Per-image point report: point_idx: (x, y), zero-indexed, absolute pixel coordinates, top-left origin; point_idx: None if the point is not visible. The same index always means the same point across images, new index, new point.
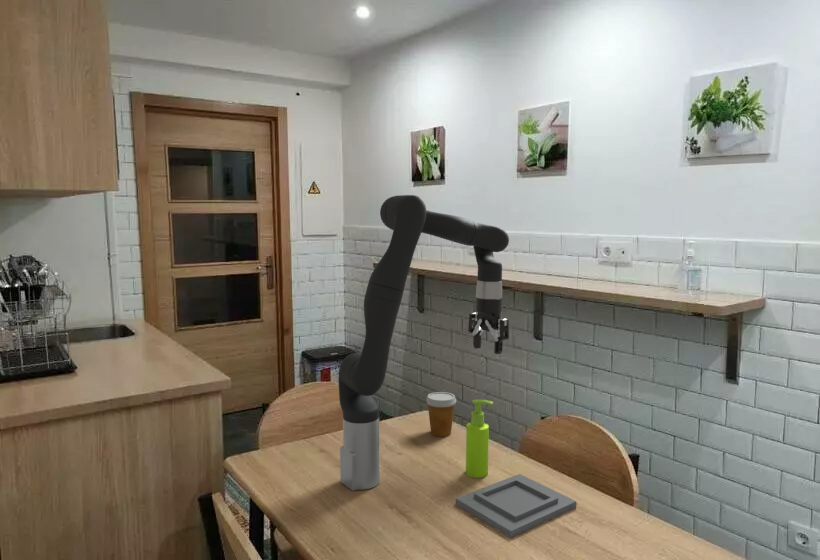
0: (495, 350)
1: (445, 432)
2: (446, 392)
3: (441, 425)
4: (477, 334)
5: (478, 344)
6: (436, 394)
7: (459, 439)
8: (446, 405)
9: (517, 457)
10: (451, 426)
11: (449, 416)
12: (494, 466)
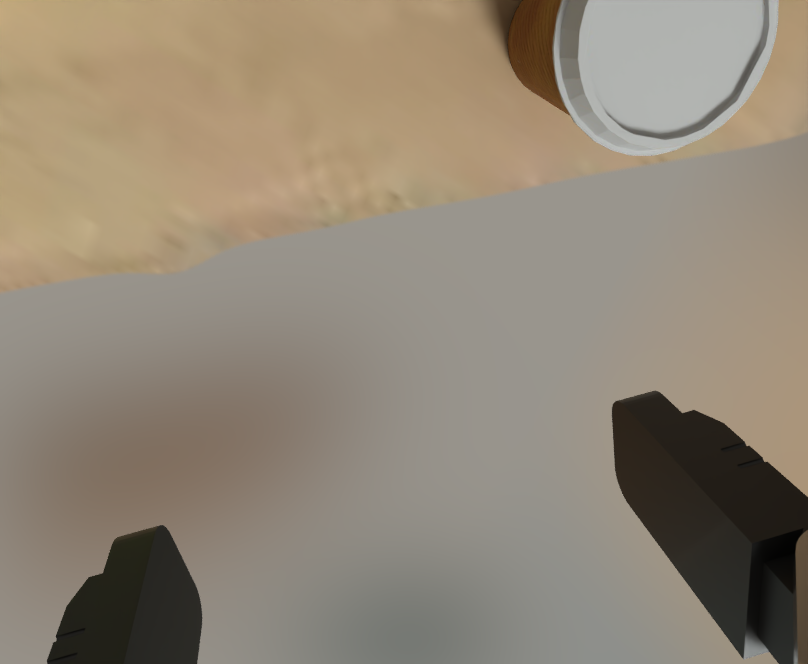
0: (120, 571)
1: (514, 35)
2: (722, 124)
3: (533, 2)
4: (790, 621)
5: (647, 488)
6: (744, 37)
7: (439, 90)
8: (560, 21)
9: (120, 246)
10: (531, 87)
11: (536, 58)
12: (42, 72)
